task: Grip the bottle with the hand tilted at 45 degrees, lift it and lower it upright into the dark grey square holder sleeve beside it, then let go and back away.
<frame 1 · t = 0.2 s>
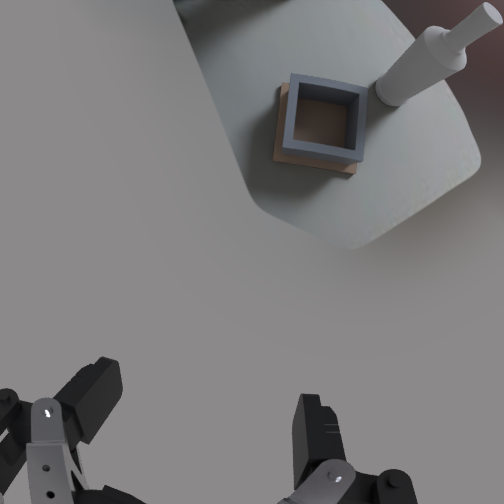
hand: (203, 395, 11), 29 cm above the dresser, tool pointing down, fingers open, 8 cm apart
holder sleeve: (318, 127, 35), on the dresser
bottle: (389, 92, 33), on the dresser
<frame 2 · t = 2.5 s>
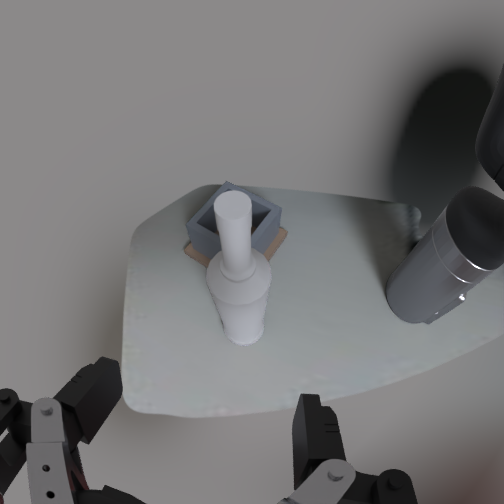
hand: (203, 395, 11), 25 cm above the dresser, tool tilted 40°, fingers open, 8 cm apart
holder sleeve: (236, 244, 43), on the dresser
bottle: (244, 328, 37), on the dresser
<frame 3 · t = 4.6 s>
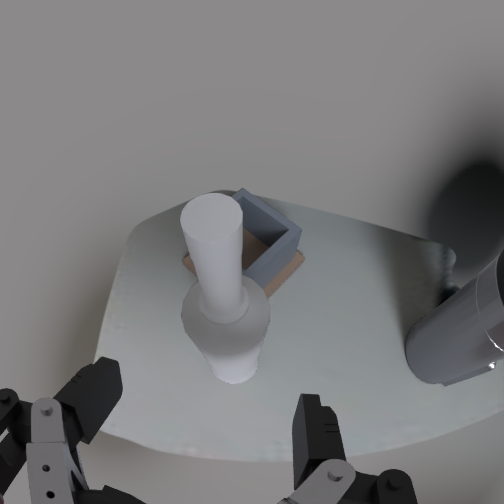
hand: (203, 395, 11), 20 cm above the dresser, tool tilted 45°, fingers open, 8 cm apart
holder sleeve: (243, 262, 37), on the dresser
bottle: (234, 363, 31), on the dresser
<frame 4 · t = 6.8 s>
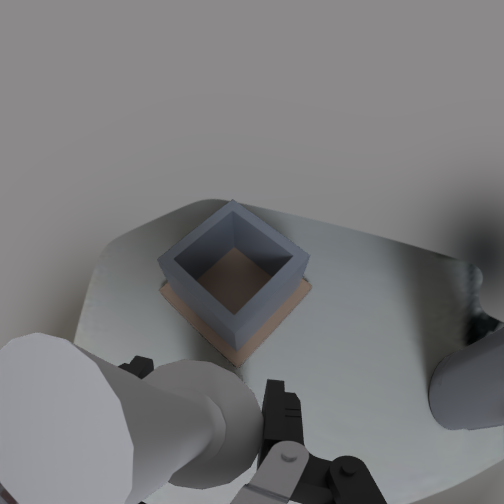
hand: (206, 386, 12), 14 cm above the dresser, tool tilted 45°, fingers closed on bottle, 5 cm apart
holder sleeve: (235, 293, 30), on the dresser
bottle: (223, 419, 23), on the dresser, touching gripper
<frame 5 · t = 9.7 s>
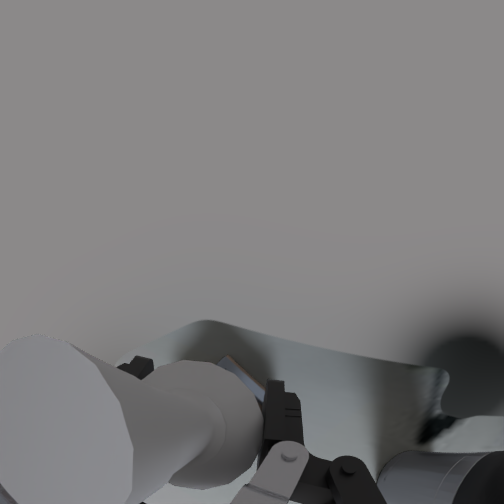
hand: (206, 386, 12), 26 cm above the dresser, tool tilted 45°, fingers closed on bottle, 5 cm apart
holder sleeve: (229, 412, 33), on the dresser
bottle: (223, 420, 23), point 11 cm above the dresser, touching gripper
when the fingers open (17 cm above the dresser, at t = 12.5 s): bottle drops 1 cm, resting on holder sleeve.
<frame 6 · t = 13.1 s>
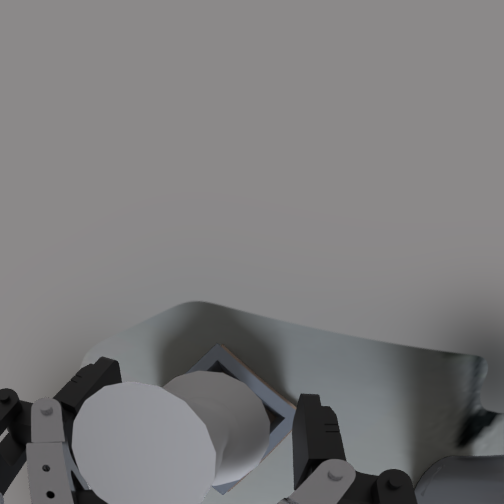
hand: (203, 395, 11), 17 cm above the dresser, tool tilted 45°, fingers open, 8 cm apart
holder sleeve: (225, 419, 25), on the dresser
bottle: (224, 421, 24), point 1 cm above the dresser, touching holder sleeve
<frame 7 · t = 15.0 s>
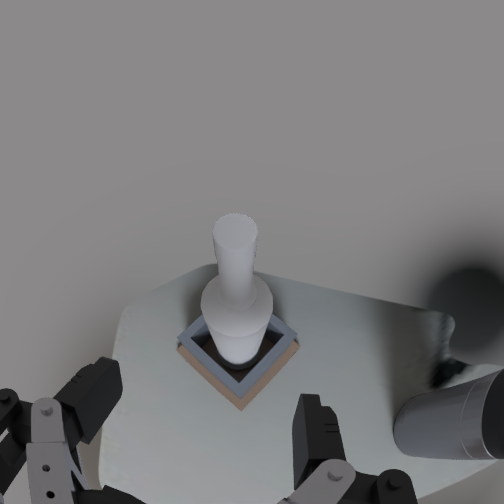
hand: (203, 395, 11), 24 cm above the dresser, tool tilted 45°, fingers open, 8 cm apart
holder sleeve: (238, 351, 35), on the dresser
bottle: (238, 351, 35), point 1 cm above the dresser, touching holder sleeve
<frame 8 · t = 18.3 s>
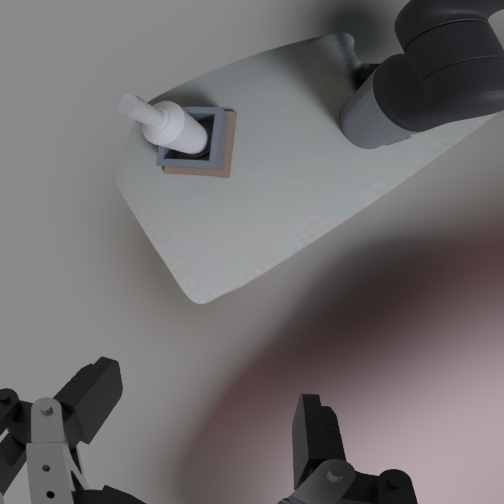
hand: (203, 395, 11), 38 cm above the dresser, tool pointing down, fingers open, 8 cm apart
holder sleeve: (200, 142, 45), on the dresser
bottle: (199, 143, 45), point 1 cm above the dresser, touching holder sleeve
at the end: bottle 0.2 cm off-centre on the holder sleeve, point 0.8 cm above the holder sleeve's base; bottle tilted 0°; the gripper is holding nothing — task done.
